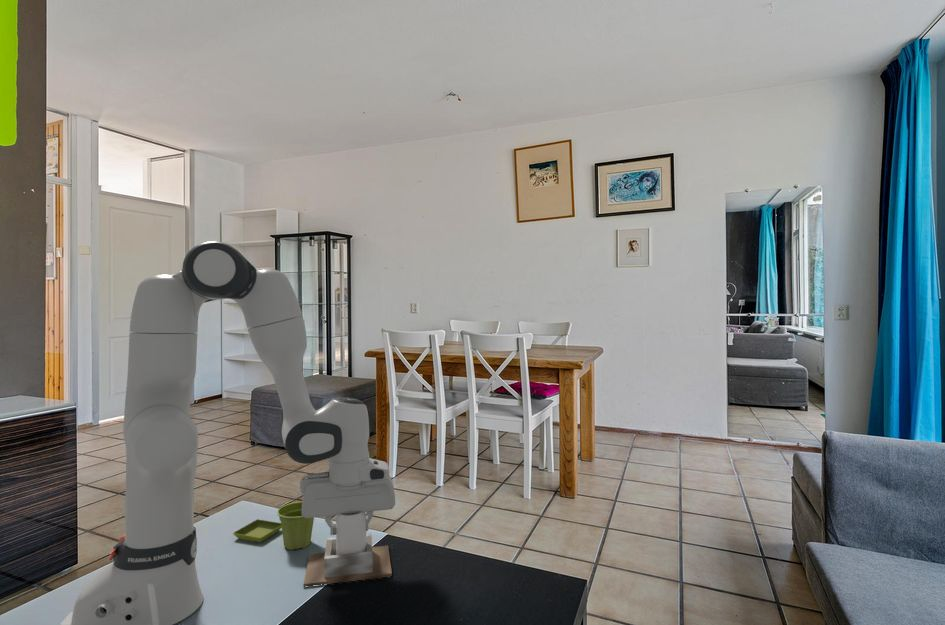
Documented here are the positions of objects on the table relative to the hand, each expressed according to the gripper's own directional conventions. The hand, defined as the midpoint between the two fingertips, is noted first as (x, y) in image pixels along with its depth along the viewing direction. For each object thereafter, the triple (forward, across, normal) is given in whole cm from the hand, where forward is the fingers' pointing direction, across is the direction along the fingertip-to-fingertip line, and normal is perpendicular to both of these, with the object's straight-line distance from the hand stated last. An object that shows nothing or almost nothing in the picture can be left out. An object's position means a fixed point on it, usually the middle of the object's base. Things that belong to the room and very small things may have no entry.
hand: (349, 532), depth 109 cm
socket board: (+8, 0, 0) cm, 9 cm away
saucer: (+8, -22, +22) cm, 32 cm away
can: (+7, 0, 0) cm, 7 cm away
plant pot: (+8, -12, +14) cm, 20 cm away
